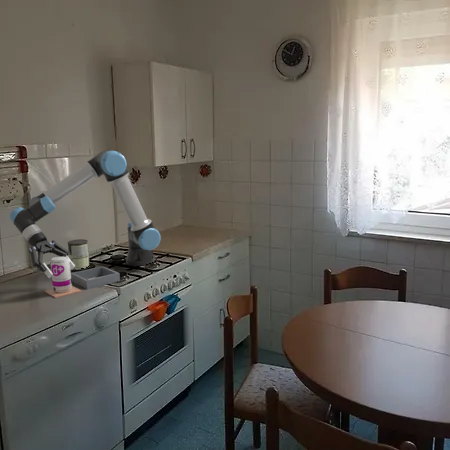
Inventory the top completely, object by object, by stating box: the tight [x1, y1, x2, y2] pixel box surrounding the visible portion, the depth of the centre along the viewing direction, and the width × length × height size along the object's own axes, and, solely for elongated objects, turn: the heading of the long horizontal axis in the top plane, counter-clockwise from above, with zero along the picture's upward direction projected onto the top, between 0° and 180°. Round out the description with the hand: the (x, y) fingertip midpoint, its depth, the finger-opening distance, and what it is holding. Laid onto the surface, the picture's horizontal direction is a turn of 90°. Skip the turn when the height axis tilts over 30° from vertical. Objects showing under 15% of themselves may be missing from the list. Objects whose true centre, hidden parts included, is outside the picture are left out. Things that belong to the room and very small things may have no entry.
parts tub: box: [71, 265, 121, 290], centre depth 230 cm, size 17×17×4 cm
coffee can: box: [67, 238, 90, 270], centre depth 255 cm, size 10×10×14 cm
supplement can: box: [50, 256, 73, 293], centre depth 214 cm, size 8×8×15 cm
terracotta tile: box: [44, 285, 82, 299], centre depth 215 cm, size 12×12×1 cm
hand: (62, 272), depth 213 cm, fingers open, 13 cm apart
